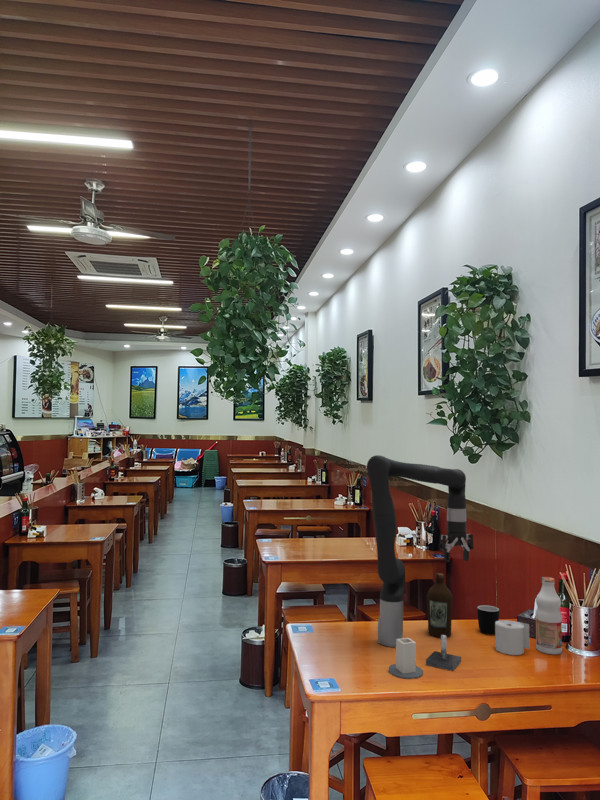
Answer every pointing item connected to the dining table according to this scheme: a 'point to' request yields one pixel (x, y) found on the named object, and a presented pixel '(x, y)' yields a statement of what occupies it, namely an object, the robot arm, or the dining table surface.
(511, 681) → the dining table surface
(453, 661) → the post stand
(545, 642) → the fruit juice
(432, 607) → the olive oil
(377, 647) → the dining table surface
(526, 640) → the toilet tissue
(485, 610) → the mug
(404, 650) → the sleeve
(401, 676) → the mat
